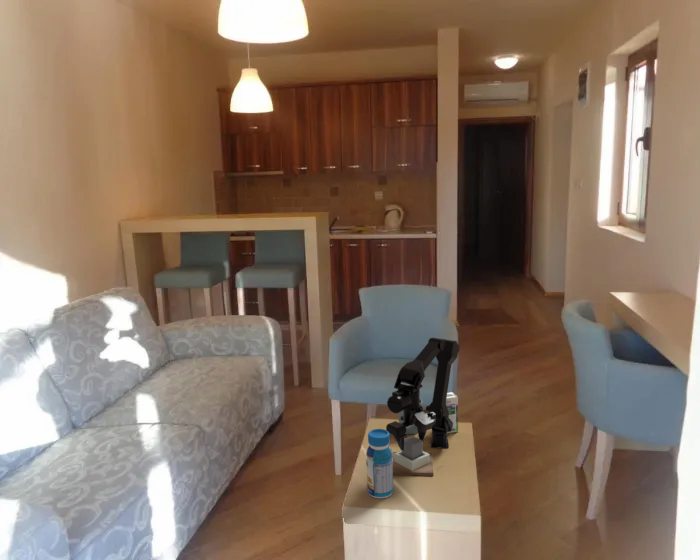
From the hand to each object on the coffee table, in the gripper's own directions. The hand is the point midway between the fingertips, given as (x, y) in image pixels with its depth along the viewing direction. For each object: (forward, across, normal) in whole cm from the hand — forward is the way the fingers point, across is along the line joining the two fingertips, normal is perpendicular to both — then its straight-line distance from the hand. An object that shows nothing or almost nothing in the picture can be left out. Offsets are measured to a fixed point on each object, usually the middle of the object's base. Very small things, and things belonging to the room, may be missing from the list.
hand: (411, 446), depth 193 cm
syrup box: (+7, +30, +10) cm, 32 cm away
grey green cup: (+7, +19, +21) cm, 29 cm away
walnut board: (+7, 0, 0) cm, 7 cm away
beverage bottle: (+7, -20, -6) cm, 22 cm away
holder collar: (+7, 0, 0) cm, 7 cm away
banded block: (+6, 0, 0) cm, 6 cm away
